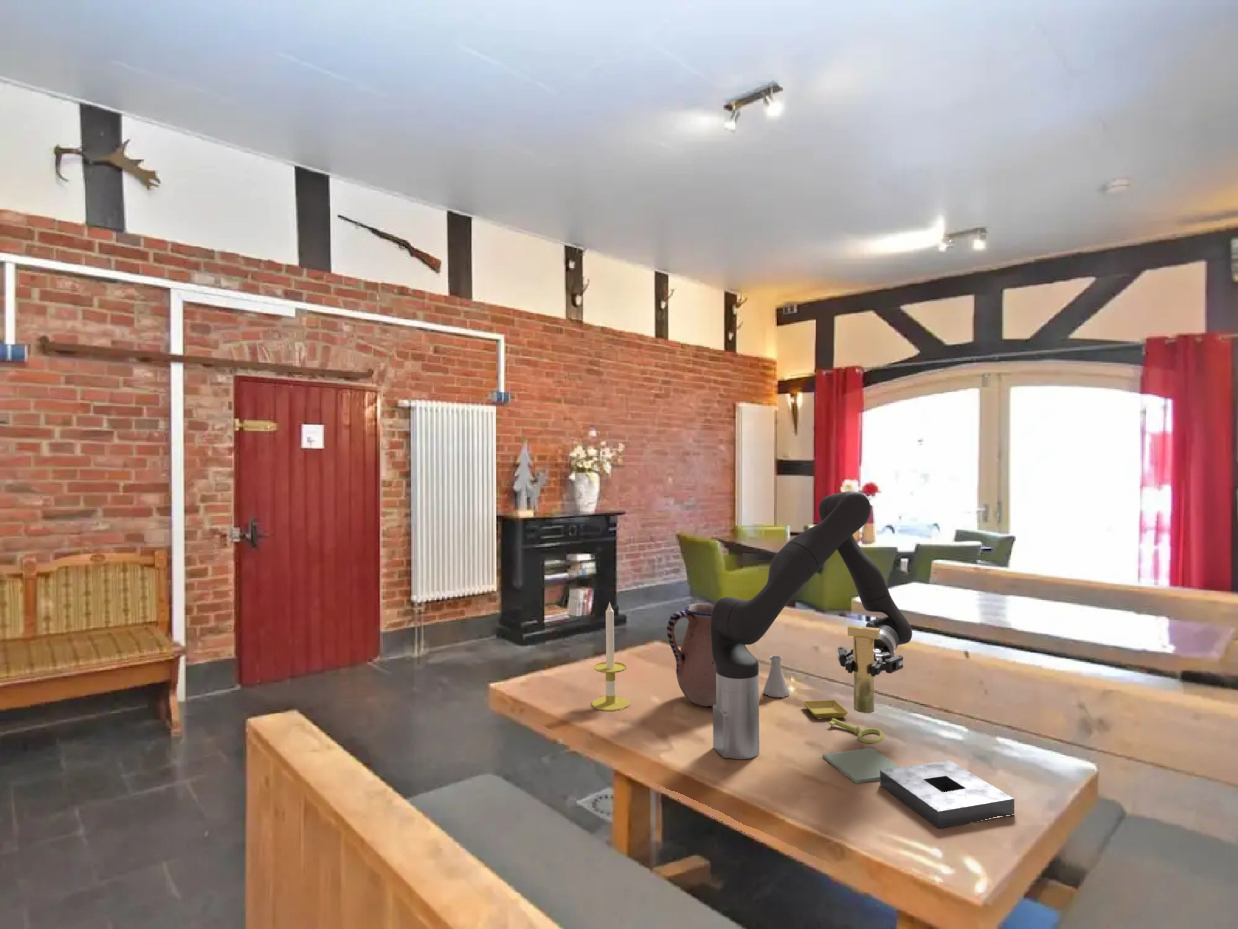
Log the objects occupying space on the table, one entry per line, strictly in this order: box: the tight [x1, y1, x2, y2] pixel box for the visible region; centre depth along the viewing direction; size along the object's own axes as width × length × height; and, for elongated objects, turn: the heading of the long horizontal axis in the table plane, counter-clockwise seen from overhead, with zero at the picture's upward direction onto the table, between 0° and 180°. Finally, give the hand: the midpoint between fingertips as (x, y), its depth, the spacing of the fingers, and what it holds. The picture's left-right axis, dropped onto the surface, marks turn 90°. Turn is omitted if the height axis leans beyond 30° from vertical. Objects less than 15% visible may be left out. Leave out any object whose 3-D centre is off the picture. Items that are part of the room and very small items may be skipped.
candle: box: [591, 601, 631, 712], centre depth 177 cm, size 10×10×27 cm
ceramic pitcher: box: [666, 601, 716, 707], centre depth 177 cm, size 18×21×25 cm
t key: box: [847, 624, 880, 714], centre depth 140 cm, size 6×4×17 cm, turn 60°
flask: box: [762, 655, 790, 699], centre depth 184 cm, size 7×7×10 cm
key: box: [828, 718, 885, 744], centre depth 157 cm, size 7×12×2 cm, turn 61°
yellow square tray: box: [802, 699, 849, 719], centre depth 170 cm, size 9×9×2 cm
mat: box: [822, 747, 900, 784], centre depth 141 cm, size 12×12×1 cm
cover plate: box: [879, 759, 1015, 830], centre depth 127 cm, size 16×16×3 cm
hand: (861, 670), depth 138 cm, fingers closed on t key, 4 cm apart
